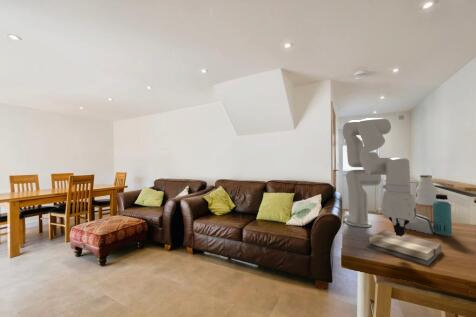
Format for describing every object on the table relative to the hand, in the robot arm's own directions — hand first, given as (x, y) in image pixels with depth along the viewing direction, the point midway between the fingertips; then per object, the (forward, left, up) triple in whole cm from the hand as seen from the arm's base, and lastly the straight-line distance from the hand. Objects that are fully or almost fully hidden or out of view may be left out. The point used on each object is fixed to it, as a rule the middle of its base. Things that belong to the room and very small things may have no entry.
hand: (399, 235), depth 81 cm
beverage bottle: (+5, +38, -8) cm, 39 cm away
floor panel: (-1, +6, -8) cm, 10 cm away
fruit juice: (-4, +53, -8) cm, 54 cm away
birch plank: (-1, +3, -7) cm, 7 cm away
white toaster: (-7, +39, -8) cm, 40 cm away
